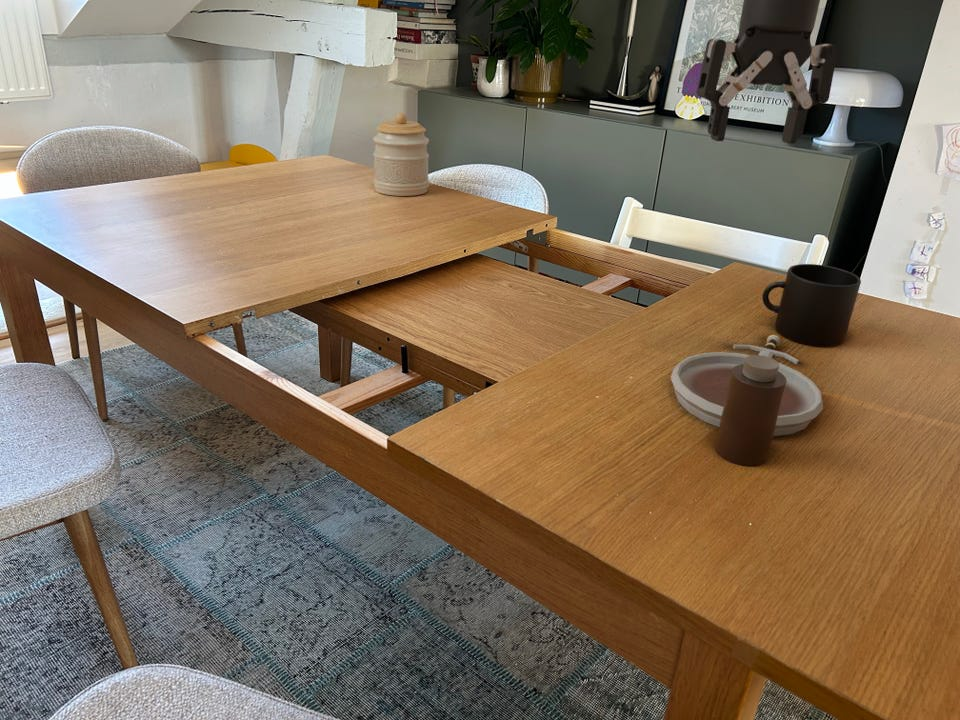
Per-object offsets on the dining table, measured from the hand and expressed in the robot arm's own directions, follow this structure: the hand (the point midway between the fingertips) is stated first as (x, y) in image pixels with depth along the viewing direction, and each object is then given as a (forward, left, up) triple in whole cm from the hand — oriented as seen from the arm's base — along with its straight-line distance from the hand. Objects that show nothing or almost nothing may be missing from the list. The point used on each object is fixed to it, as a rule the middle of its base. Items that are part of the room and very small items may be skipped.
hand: (753, 141), depth 83 cm
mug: (-9, -18, -28) cm, 35 cm away
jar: (+85, -55, -28) cm, 105 cm away
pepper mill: (-8, +20, -28) cm, 35 cm away
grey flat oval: (-6, +3, -28) cm, 29 cm away
